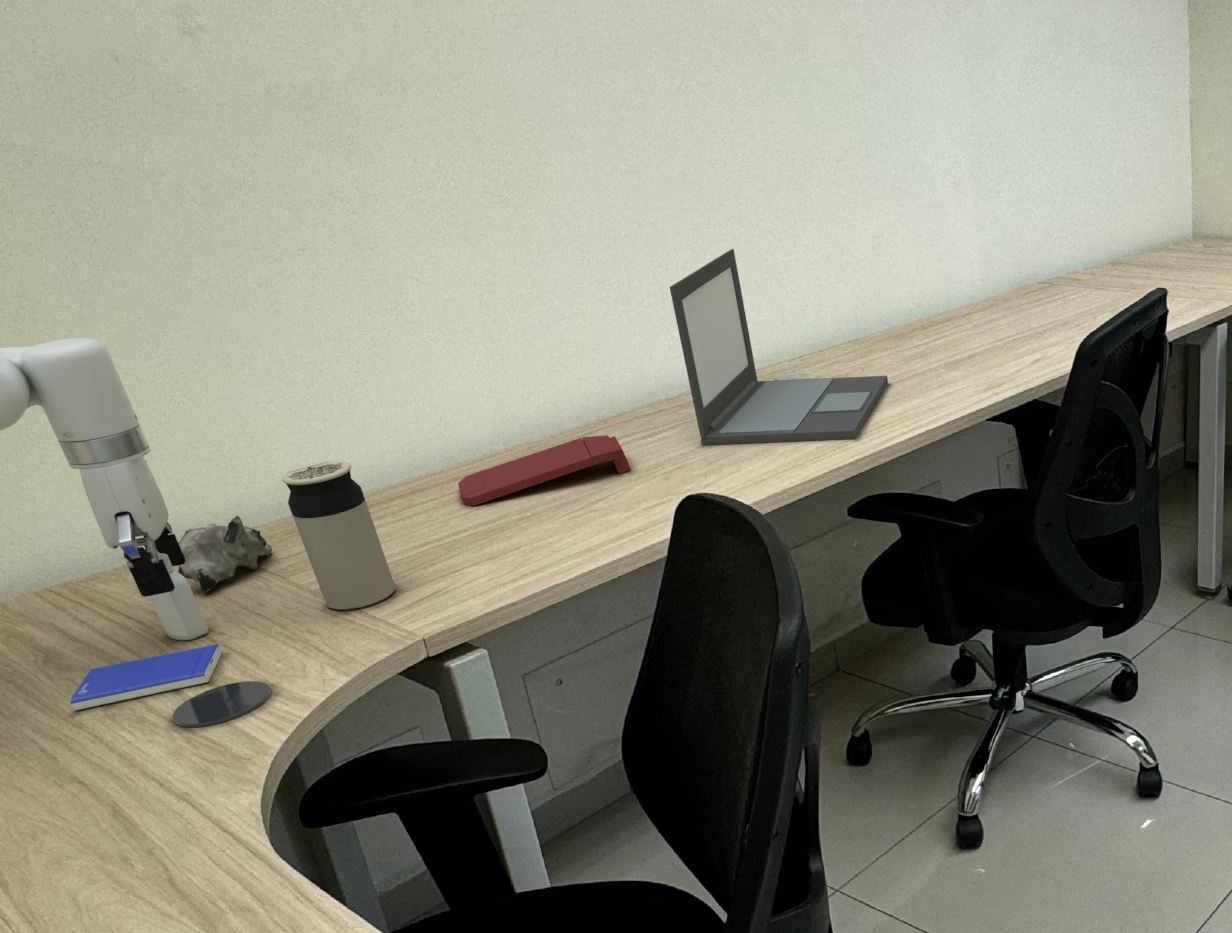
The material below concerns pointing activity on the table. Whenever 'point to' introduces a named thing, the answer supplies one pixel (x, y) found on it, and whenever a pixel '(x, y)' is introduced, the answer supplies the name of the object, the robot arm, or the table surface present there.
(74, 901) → the table surface
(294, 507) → the travel mug
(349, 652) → the table surface
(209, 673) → the hard drive
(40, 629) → the table surface
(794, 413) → the laptop
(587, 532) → the table surface
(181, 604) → the eye dropper bottle
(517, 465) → the red hooked bar
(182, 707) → the slate coaster
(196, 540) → the decorative stone
